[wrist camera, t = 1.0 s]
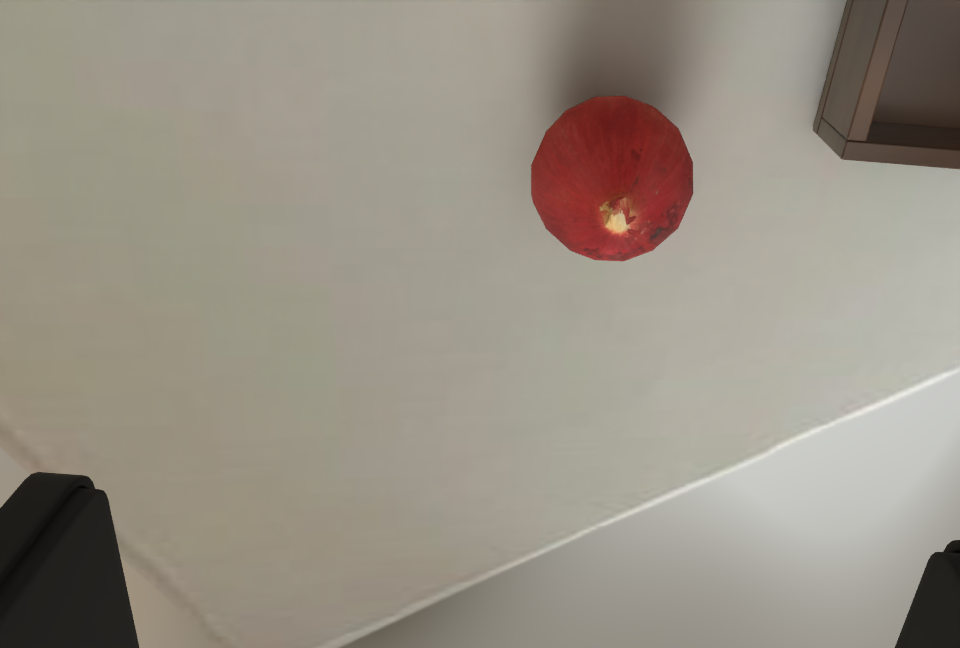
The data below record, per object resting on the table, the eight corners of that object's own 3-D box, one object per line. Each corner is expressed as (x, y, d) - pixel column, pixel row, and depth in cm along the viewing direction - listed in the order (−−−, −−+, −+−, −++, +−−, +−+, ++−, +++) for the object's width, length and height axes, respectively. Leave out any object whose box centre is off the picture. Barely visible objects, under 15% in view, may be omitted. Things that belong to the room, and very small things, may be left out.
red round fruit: (707, 144, 34) (753, 222, 27) (603, 242, 36) (620, 336, 29) (604, 43, 32) (624, 97, 25) (501, 152, 34) (494, 229, 27)
